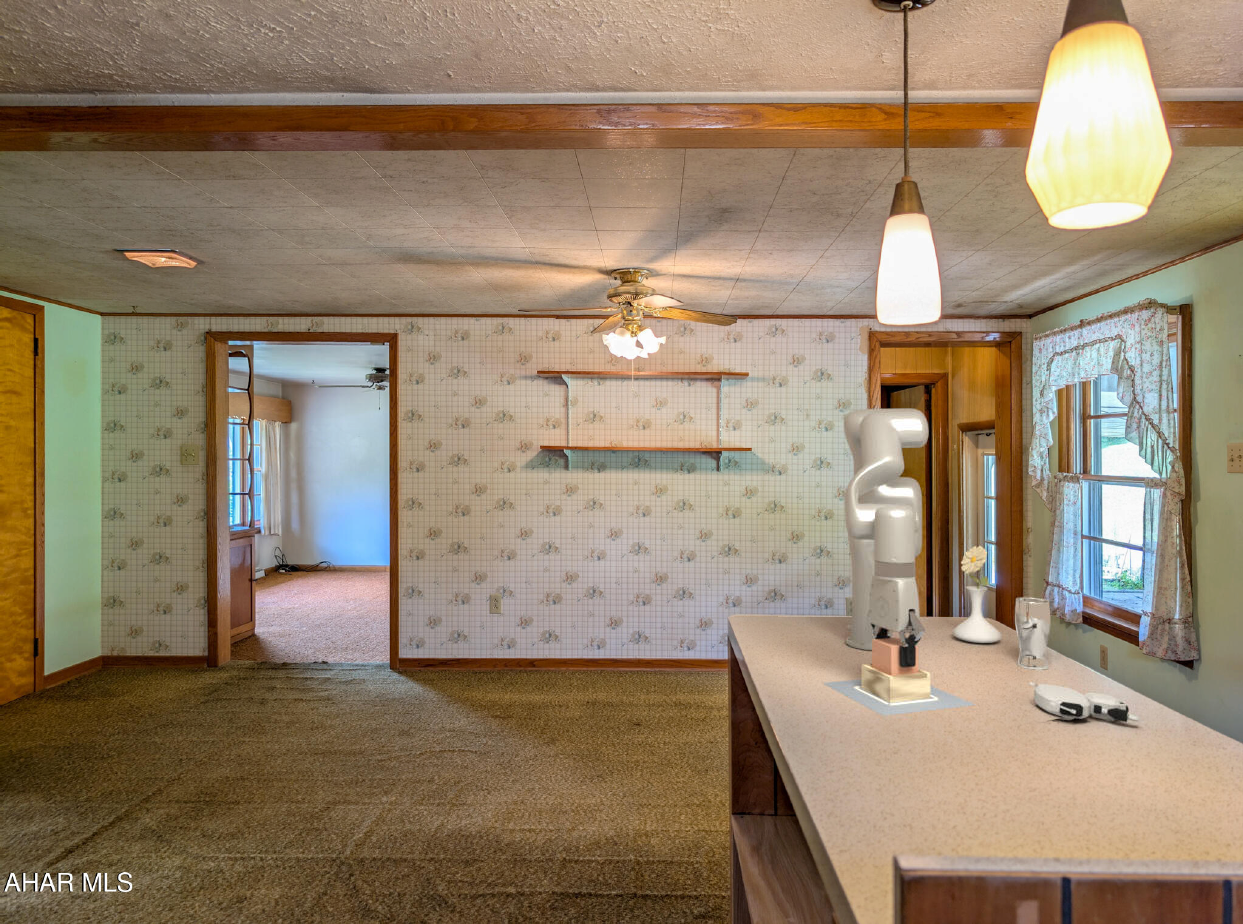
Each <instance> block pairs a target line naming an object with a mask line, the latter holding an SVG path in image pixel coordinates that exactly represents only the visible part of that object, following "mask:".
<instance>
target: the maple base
mask: <svg viewBox="0 0 1243 924" xmlns="http://www.w3.org/2000/svg"><path fill="white" fill-rule="evenodd" d="M860 671H861V677H860V679H861V688H862V689H863V690H865V691H867V692H869V693H871V694H873V695H875V696H877V697H879V698H881V699H883V700H885V701H887V702H890V703H893V702H902V701H911V700H920V699H929V698H930V686H931V673H930V672H928V671H926V670H924V669H921V668H919V667H918V673H915V674H905V675H895V676H890V675H888V674H885V673H883V672H881V671H879V670H876V669H874V668H872V663H865V664H864V663H863V664H861V670H860Z"/></svg>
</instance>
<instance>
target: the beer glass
mask: <svg viewBox="0 0 1243 924" xmlns="http://www.w3.org/2000/svg"><path fill="white" fill-rule="evenodd" d="M1014 624H1015V630H1016V635H1017V639H1018V645H1019V654H1018V659H1017V666H1019V667H1020V668H1024V669H1028V670H1033V669H1035V670H1036V671H1043V669H1046V670H1047V669H1049V663H1048V659H1047V657H1048V656H1047V646H1048V641H1049V636H1050V631H1051V609H1050V600H1049V599H1045V598H1040V597H1039V598H1037V597H1030V596H1029V597H1028V596H1023V597H1017V598H1015V607H1014Z"/></svg>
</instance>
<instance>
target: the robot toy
mask: <svg viewBox="0 0 1243 924" xmlns="http://www.w3.org/2000/svg"><path fill="white" fill-rule="evenodd" d="M1029 685H1031V686H1034V690H1033V691H1034V693H1033V700H1034V701H1035V703H1036V704H1037V706H1039V707H1040V708H1041V709H1043V710H1044V711H1046V712H1047V713H1049V714H1053V715H1056V716H1057V717H1058V716H1060V717H1059V718H1058V719H1059V720H1061V721H1064V720H1068V721H1067V722H1069V720H1070V721H1072V720H1074V719H1080V720H1081V719H1086V718H1087V717H1089V716H1091V717H1092V718H1096V719H1097V718H1098V719H1101V720H1103V721H1104V720H1106V721H1105V722H1111V721H1112V723H1113V721H1115V720H1116V721H1121V722H1124V723H1127V721H1128V720H1130V721H1131V722H1139V720H1140V717H1139V716H1138V715H1136V714H1133V713H1132V714H1128V713H1129V711H1130V709H1129V706H1128V705H1127V703H1123V702H1124V701H1122V700H1120V699H1117V698H1115V697H1114V696H1112V695H1109V694H1106V693H1097V692H1096V693H1095V692H1086V693H1085V694H1084V695H1083V694H1082V693H1081V692H1079V691H1077V690H1075V689H1073V688H1069V687H1066V686H1061V685H1060V686H1059V685H1054V684H1047V683H1040V684H1035V683H1034V682H1029Z"/></svg>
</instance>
